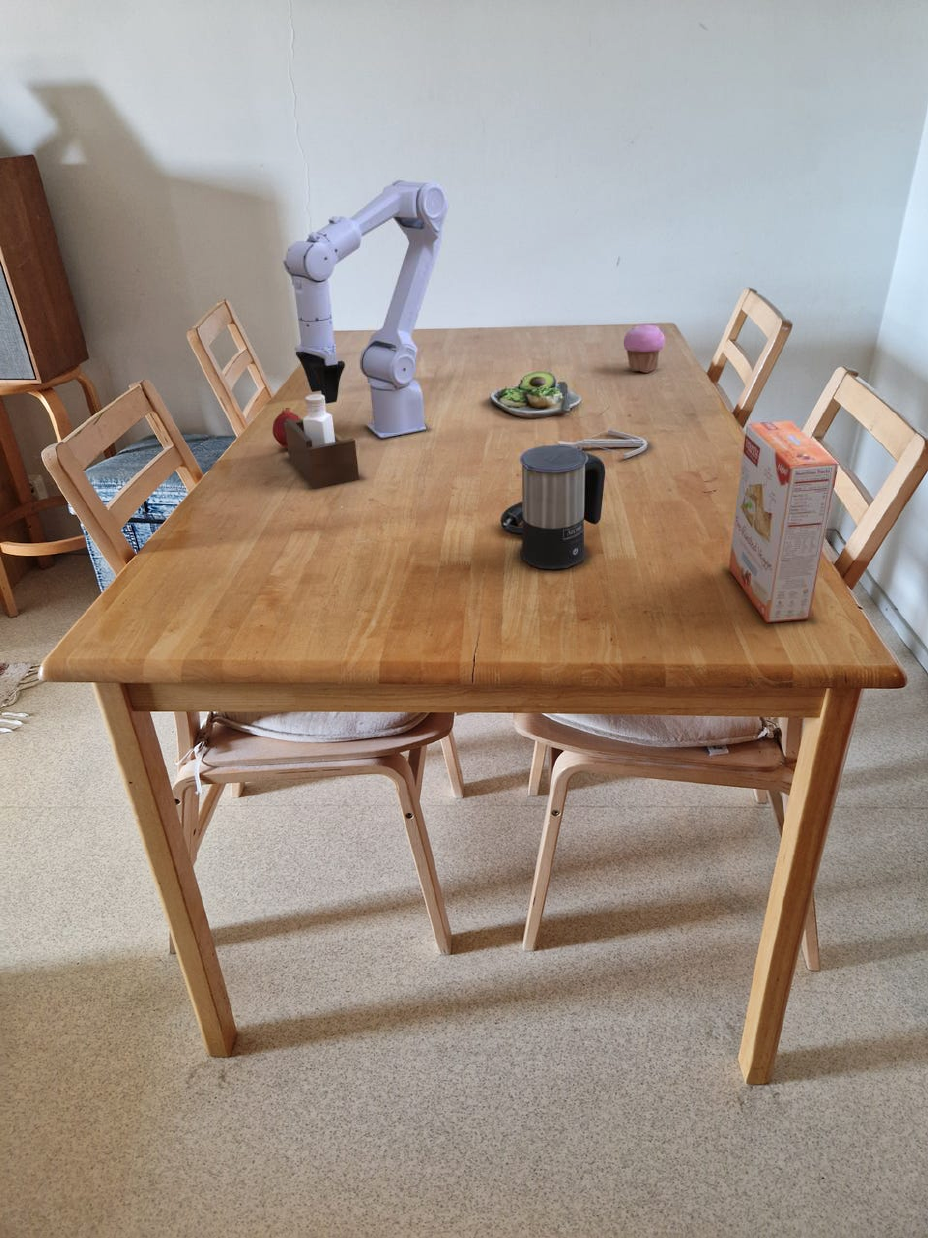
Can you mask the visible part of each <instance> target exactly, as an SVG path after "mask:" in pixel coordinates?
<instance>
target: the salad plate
mask: <svg viewBox="0 0 928 1238" xmlns="http://www.w3.org/2000/svg"><path fill="white" fill-rule="evenodd" d="M519 381H520V382H519V384H518V385H517V386H511V387H507V386H506V387H503V388H498V389H495V390H493V391H492V392H491V393H490V394H489V395H490V397H489V398H490V401H491V403H492V404H493V405H494V406H496V407H498V408H500V409H501V410H502V411H504V412H507V413H509V414H512V415H514V416H516V417H520V418H529V419H542V418H548V417H551V416H556V415H557V416H558V415H562V414H564V413H569V412H570V411H571V409H572V408H574V407H576V406H577V405H578V404H580V402H581V396H580V395H578V394H576V393H575V392H573V391H571V390H569V388H568V384H567V382H565V381H558V382H557V381H556V377H555V376H554V375H553V374H552V373H550V372H547V371H536V372H532V373H528V374H526V375H524V376H523V377H522V378H521V379H520V380H519Z"/></svg>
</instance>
